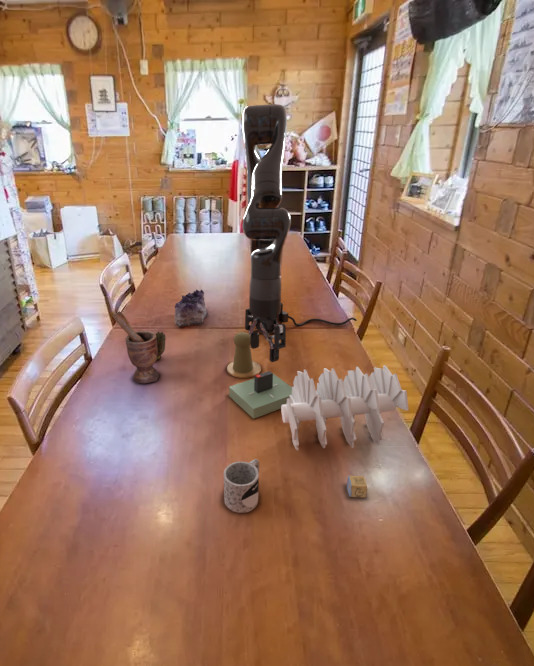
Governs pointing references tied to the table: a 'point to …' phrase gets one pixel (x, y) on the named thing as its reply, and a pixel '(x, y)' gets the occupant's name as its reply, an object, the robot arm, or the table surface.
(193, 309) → the geode
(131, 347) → the mortar and pestle
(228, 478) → the grey thin strip
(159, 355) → the ornate metal bell
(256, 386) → the black block red tip
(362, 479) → the alphabet block
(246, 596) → the table surface
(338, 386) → the spiral staircase
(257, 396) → the control panel
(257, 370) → the coaster
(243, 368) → the olive round-headed cylinder
